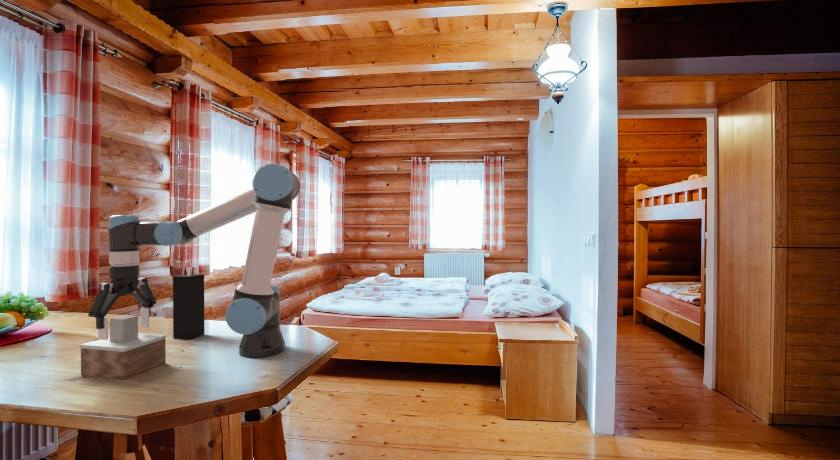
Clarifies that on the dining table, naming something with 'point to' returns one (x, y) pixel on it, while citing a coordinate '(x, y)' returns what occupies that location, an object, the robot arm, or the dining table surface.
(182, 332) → the tall black column
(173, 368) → the dining table surface
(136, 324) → the stone block
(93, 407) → the dining table surface
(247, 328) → the robot arm
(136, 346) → the lid
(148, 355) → the box
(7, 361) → the dining table surface
